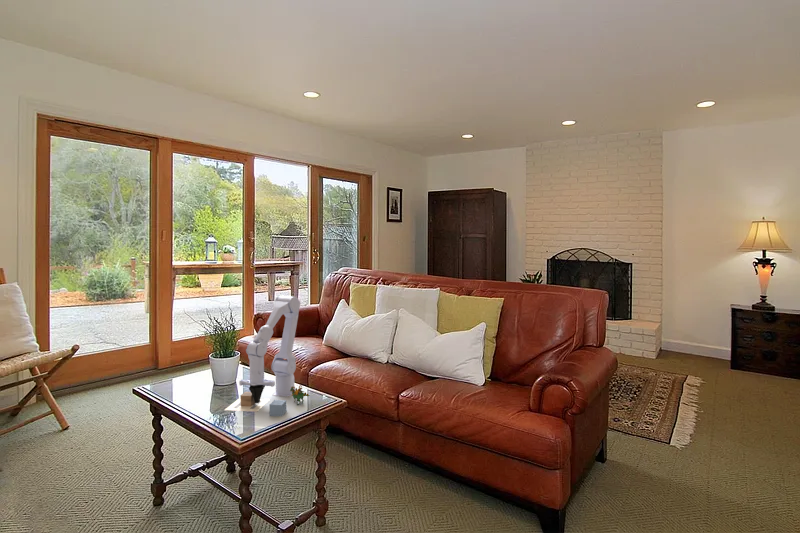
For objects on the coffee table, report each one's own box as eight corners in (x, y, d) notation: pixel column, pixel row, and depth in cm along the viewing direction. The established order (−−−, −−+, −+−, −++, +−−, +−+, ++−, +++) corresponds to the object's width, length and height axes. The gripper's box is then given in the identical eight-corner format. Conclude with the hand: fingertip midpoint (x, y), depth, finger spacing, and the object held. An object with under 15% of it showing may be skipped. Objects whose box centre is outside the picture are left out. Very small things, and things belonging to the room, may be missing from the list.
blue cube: (274, 412, 179) (274, 399, 179) (286, 412, 179) (286, 400, 178) (269, 417, 174) (269, 404, 174) (281, 417, 174) (281, 405, 173)
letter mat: (239, 398, 194) (239, 397, 194) (270, 399, 192) (270, 398, 192) (224, 411, 180) (224, 410, 180) (257, 412, 178) (257, 411, 178)
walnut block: (245, 402, 188) (245, 391, 188) (255, 402, 188) (255, 392, 188) (240, 406, 184) (240, 395, 184) (251, 406, 184) (250, 395, 183)
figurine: (293, 399, 193) (292, 381, 192) (312, 405, 186) (312, 386, 185) (287, 401, 190) (287, 383, 190) (307, 408, 183) (307, 388, 183)
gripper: (235, 372, 181) (236, 405, 182) (270, 374, 180) (270, 406, 181) (243, 367, 188) (243, 399, 189) (276, 368, 187) (276, 400, 188)
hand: (257, 402), depth 185 cm, fingers closed
